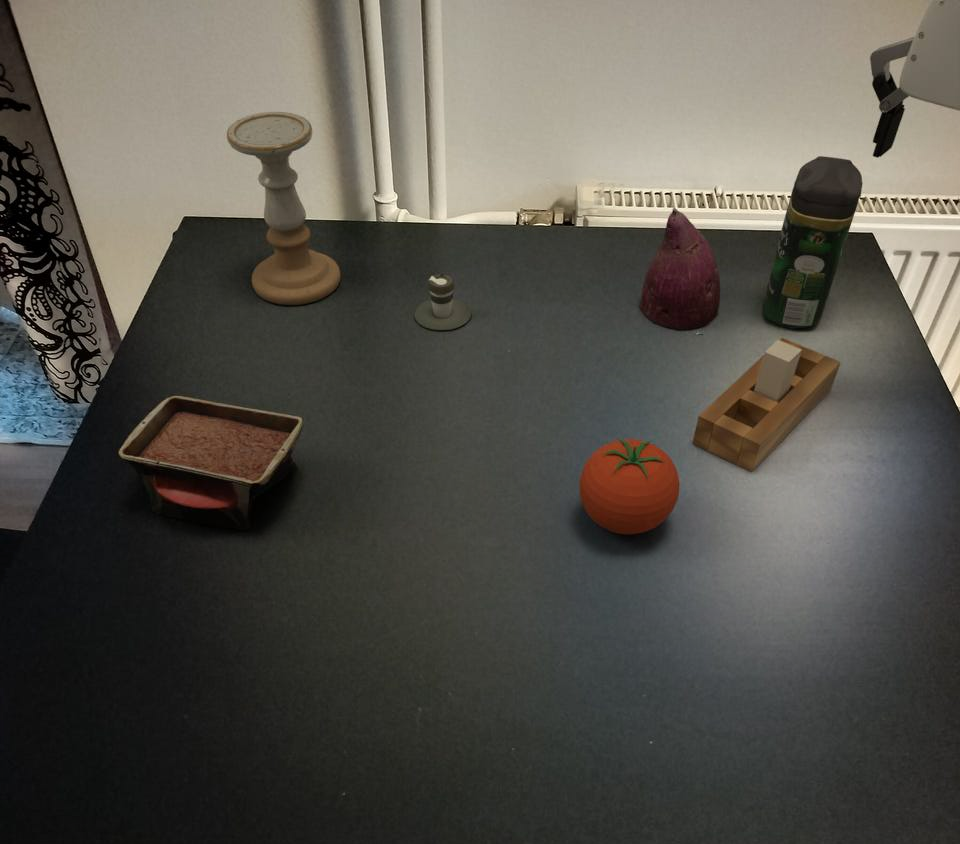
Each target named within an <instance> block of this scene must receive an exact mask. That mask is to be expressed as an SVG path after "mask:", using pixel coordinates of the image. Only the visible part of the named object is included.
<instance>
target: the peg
mask: <svg viewBox="0 0 960 844" xmlns="http://www.w3.org/2000/svg"><path fill="white" fill-rule="evenodd" d="M801 351H802V349H799V348H797V347H794V346H792V345H790V344H787V343H785V342H782V341H780V339H777V340H776V341H775V342H774V343H773V344H771V346H769V347H768V348H767V350H765V351H764V353H763V355H764V358H763V361H762V365H761V368H760V372H759V375H758V379H757V382H756V386H755V390H754V392H756V393H758V394H760V395H762V396H765V397H767V398H769V399H771V400H774V401H776V402H778V403H779V402H780V401H781V400H782V399H783V398H784V397H785V396H786V395H787V394H788V392H789V389H790V386H791V383H792V380H793V376H794V373H795V370H796V367H797V364H798V361H799V358H800V354H801Z"/></svg>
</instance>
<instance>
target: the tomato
mask: <svg viewBox="0 0 960 844" xmlns="http://www.w3.org/2000/svg"><path fill="white" fill-rule="evenodd" d="M579 478H580V479H579V482H578V483H579V497H580V500H581V503H582V506H583V508H584V510H585V511H586V513H587V515H588V516H589V518H591V520H593V521H594V522H595V523H596V524H597V525H599V526H600V527H602V528H604V529H606V530H608V531H610V532H612V533H615V534H619V535H634V534H642V533H646V532H649V531H651V530H652V529H654V528H656V527H658V526H659V525H660V524H662V523H663V522H665V520H666V519H667V518H668V517H669V516H670V515H671V513H672V512H673V510H674V508H675V506H676V504H677V502H678V499H679V495H680V484H681V483H680V477H679V473H678V470H677V467H676V465H675V464H674V461H673V460H672V458H671V457H670V456H669V454H667V453H666V452H665V451H664V450H663V449H661V448H660V447H658V446H656V445H655V444H653V442H652V441H650V440H649V441H644V440H642V439H632V438H625V439H620V438H617V440H616V441H615V440H614V441H612V442H611V441H610V442H609V443H606V444H604V445H603V446H601V447H599V448H598V449H597V450H596V451H595V452H594V453H593V454H591V456H590V457H589V458H588V460H586V462H585V465H584V466H583V468H582V470H581V475H580V477H579Z"/></svg>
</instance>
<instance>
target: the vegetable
mask: <svg viewBox="0 0 960 844" xmlns="http://www.w3.org/2000/svg"><path fill="white" fill-rule="evenodd" d="M720 302H721V280H720V272H719V269H718V263H717V259H716V256H715V254H714V252H713V250H712V248H711V246H710V244H709V242H708V240H707V239H706V237H705V236H704V235H703V234H702V232H701V231H700V230H699V229H697V227H695V225H694V224H693V222H692V221H690V219H688V217H687V216H686V215H685V214H684V213H683V212H681V211H679V210H678V209H677V208H676V207H673V208H672V212H671V213H670V214H669V216H668V218H667V221H666V225H665V232H664V234H663V239H662V241H661V244H660V246H659V248H658V249H657V250H656V253H655V255H654V256H653V259H652V260H651V263H650V266H649V267H648V270H647V272H646V275H645V277H644V281H643V286H642V292H641V299H640V303H639V308H640V310H641V312H642V313H643V314H644V315H645V316H646V318H647V319H649V320H650V321H651V322H653V323H654V324H656V325H659V326H662V327H666V328H670V329H673V330H678V331H679V330H682V331H683V330H684V331H685V330H692V329H697V328H701V327H705V326H707V325H709V323H711V322H712V321H713V320H714V319H715V318H716V317H717V315H718V314H719V309H720Z"/></svg>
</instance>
